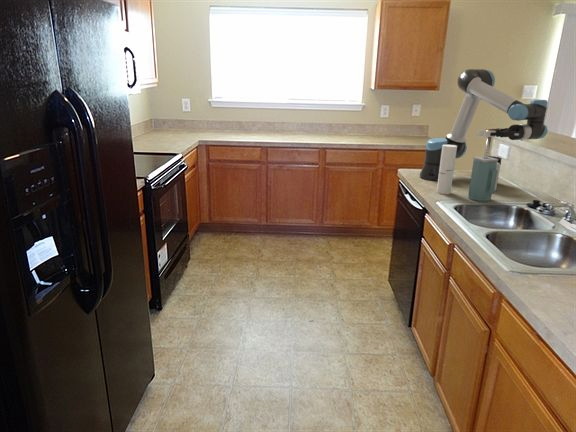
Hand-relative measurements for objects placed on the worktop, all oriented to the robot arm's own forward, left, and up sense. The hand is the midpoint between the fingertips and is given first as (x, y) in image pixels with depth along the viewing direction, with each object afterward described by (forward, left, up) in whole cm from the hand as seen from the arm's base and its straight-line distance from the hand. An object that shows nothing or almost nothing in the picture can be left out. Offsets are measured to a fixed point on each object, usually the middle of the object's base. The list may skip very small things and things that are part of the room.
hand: (481, 133), depth 209 cm
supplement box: (-16, +24, -33) cm, 44 cm away
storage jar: (-26, +35, -33) cm, 55 cm away
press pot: (+1, +5, -33) cm, 34 cm away
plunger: (0, +5, -24) cm, 24 cm away
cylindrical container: (-16, -4, -33) cm, 37 cm away
